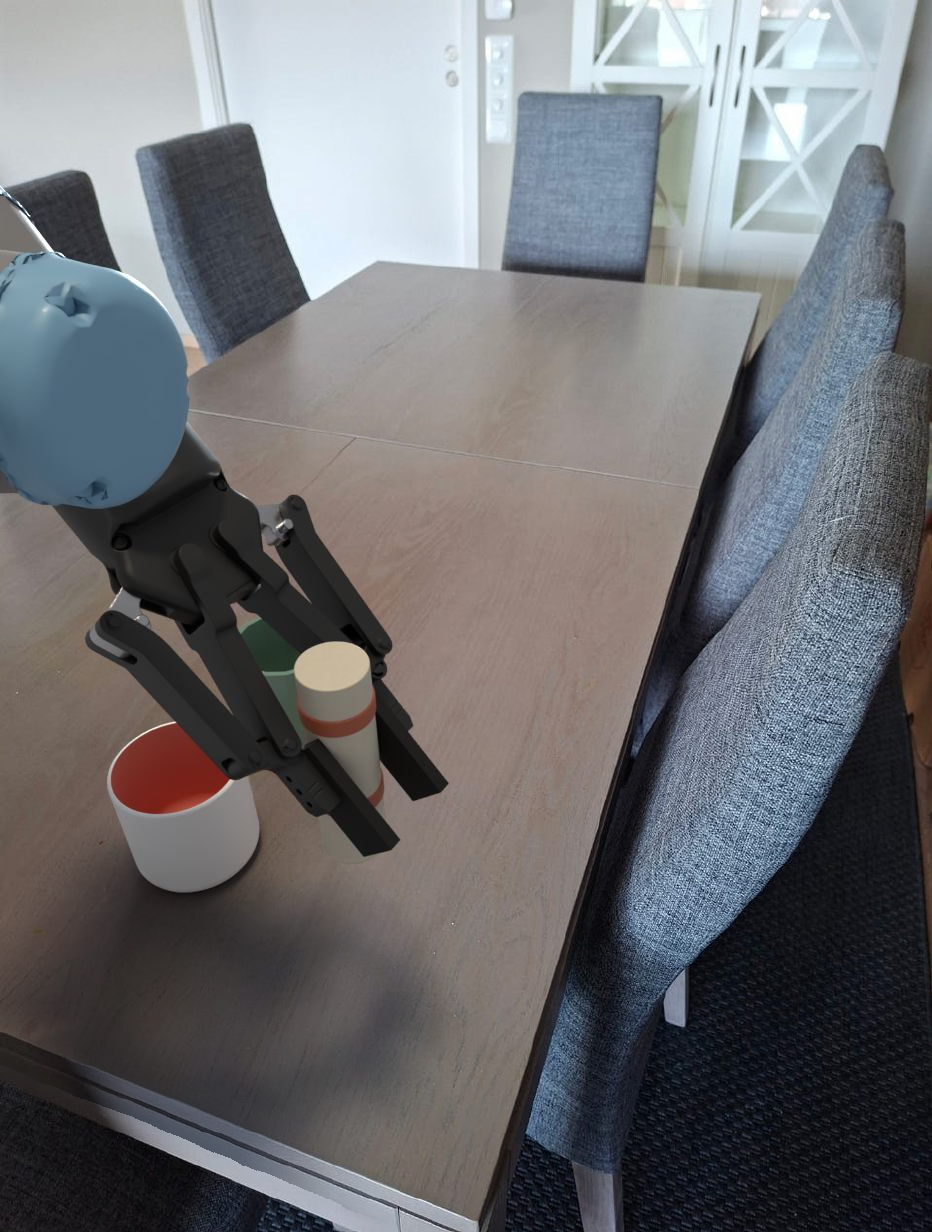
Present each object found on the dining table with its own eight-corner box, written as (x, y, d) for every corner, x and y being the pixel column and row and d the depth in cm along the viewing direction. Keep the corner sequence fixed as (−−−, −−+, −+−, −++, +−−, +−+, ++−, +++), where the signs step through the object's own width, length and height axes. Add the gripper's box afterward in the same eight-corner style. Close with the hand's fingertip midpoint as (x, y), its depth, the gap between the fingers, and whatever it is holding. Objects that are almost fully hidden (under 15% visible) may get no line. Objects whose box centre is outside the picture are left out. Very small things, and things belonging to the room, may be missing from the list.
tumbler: (289, 781, 78) (271, 690, 71) (231, 732, 83) (209, 642, 76) (364, 728, 83) (354, 639, 77) (306, 685, 88) (291, 598, 81)
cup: (112, 880, 70) (77, 797, 64) (182, 789, 77) (157, 707, 71) (221, 915, 67) (196, 832, 61) (283, 817, 75) (266, 735, 69)
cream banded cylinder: (352, 878, 47) (327, 704, 39) (307, 840, 49) (274, 666, 41) (403, 836, 49) (388, 663, 42) (358, 801, 52) (336, 629, 44)
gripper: (209, 425, 50) (453, 737, 53) (-62, 563, 39) (265, 947, 42) (263, 353, 45) (532, 706, 48) (-35, 491, 34) (339, 938, 37)
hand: (406, 818), depth 45 cm, fingers closed on cream banded cylinder, 4 cm apart
